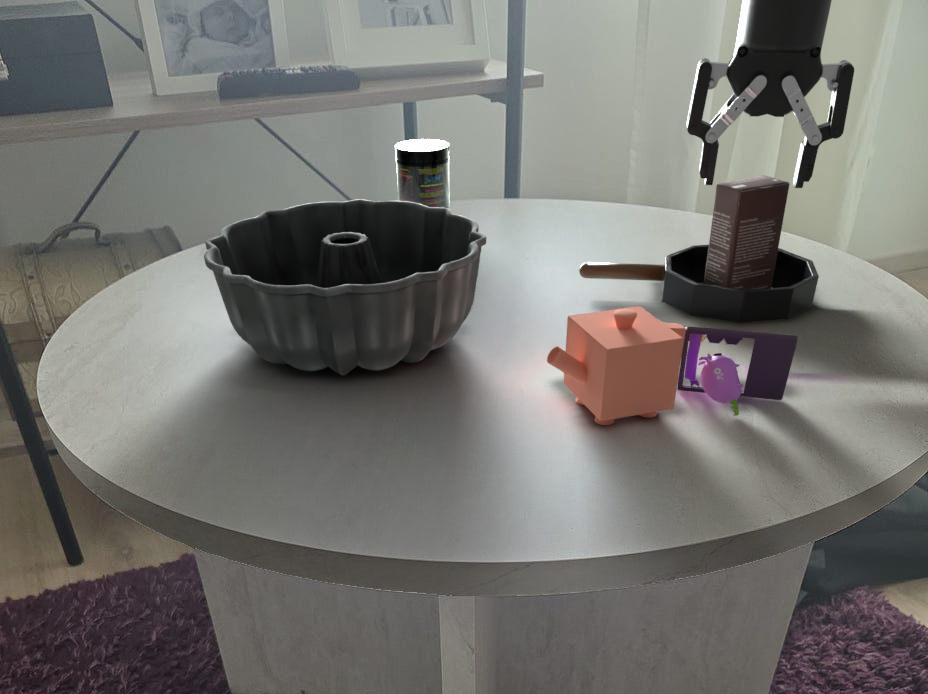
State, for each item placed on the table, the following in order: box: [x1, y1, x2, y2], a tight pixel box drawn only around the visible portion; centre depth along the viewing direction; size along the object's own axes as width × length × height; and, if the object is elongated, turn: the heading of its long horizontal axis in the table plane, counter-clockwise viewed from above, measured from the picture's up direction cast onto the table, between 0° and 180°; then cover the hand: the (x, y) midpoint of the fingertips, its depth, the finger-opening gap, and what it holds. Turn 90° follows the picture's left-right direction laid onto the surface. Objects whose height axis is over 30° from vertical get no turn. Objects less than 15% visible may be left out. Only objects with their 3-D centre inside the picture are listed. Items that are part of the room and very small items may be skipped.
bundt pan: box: [203, 198, 487, 376], centre depth 89 cm, size 26×26×10 cm
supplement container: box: [394, 138, 451, 210], centre depth 116 cm, size 7×7×10 cm
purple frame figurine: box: [676, 325, 799, 417], centre depth 77 cm, size 7×5×9 cm
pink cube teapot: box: [546, 305, 686, 426], centre depth 76 cm, size 8×12×8 cm, turn 107°
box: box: [703, 174, 791, 290], centre depth 94 cm, size 6×4×12 cm
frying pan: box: [578, 244, 820, 324], centre depth 97 cm, size 24×16×4 cm, turn 80°
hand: (752, 184), depth 90 cm, fingers open, 8 cm apart
